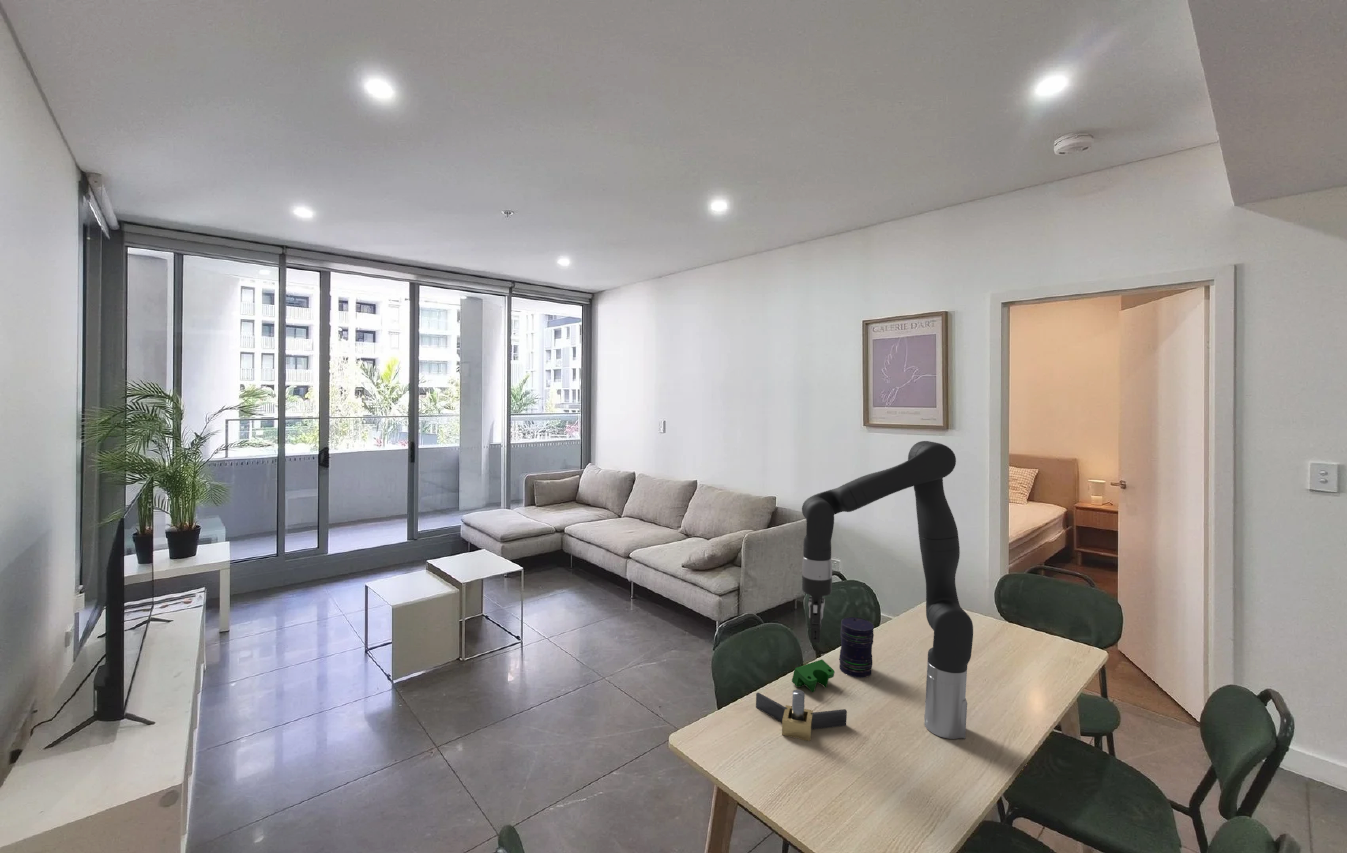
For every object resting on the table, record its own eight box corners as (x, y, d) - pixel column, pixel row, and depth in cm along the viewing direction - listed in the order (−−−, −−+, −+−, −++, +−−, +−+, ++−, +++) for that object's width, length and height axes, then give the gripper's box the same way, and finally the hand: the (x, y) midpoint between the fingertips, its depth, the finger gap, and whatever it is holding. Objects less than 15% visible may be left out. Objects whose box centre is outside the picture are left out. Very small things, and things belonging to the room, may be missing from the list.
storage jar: (876, 678, 168) (878, 630, 167) (844, 677, 168) (846, 630, 167) (865, 662, 178) (867, 617, 177) (835, 661, 178) (837, 616, 177)
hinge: (846, 723, 145) (846, 709, 144) (845, 748, 135) (846, 732, 134) (756, 705, 152) (756, 691, 152) (749, 727, 142) (749, 712, 142)
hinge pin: (803, 728, 142) (805, 690, 142) (802, 734, 140) (804, 697, 139) (792, 725, 143) (793, 688, 143) (790, 732, 141) (792, 694, 140)
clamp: (807, 705, 160) (804, 685, 156) (793, 691, 165) (790, 671, 161) (837, 682, 165) (835, 662, 161) (823, 669, 170) (820, 649, 166)
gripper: (831, 584, 135) (830, 648, 136) (832, 567, 149) (831, 625, 150) (800, 581, 137) (799, 644, 138) (804, 564, 151) (803, 622, 152)
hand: (816, 634), depth 144 cm, fingers open, 8 cm apart
